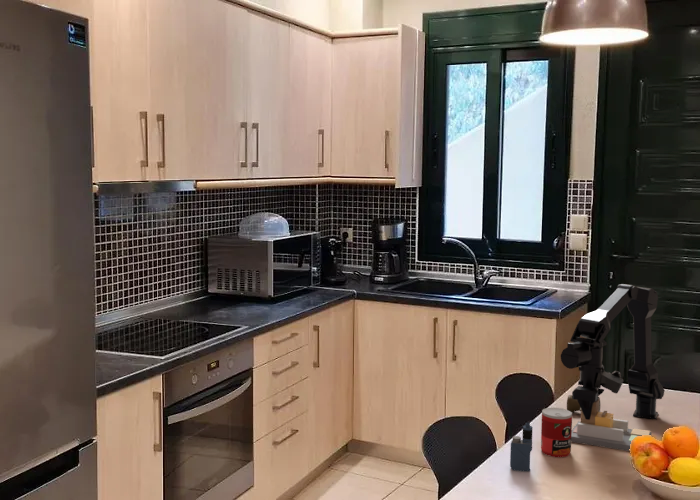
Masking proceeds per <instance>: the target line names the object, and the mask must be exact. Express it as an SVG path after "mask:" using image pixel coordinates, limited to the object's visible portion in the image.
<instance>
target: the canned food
mask: <svg viewBox="0 0 700 500" xmlns="http://www.w3.org/2000/svg"><path fill="white" fill-rule="evenodd" d="M540 429H541V432H540V434H541V435H540V449H541V452H542V454H544V455H546V456H547V457H548V456H549V457H552V458H567V457H569V456H570V455H571V452H572V442H571V434H572V430H573V412H572V413H571V412H570V411H568V410H567V408H561V407H546V408H543V409H542V410H541V428H540Z"/></svg>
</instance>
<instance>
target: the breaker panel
mask: <svg viewBox="0 0 700 500" xmlns="http://www.w3.org/2000/svg"><path fill="white" fill-rule="evenodd" d="M642 435H651V436H652V432H651V430H647V429H646V430H645V429H639V428H629V420H624V419H618V418H613V428H610V427H603V426H597V425H590V424H583V423H581V420H578V421H577V423H576V424H575V425H574V426H573V427H572V434H571V443H577V444H582V445H589V446H595V447H601V448H606V449H607V448H609V449H614V450H620V451H626V452H627V451H628V452H630V451H629V449H630V444H631V441H632V440H633V439H634V438H635V437H637V436H642Z"/></svg>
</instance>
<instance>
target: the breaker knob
mask: <svg viewBox="0 0 700 500" xmlns="http://www.w3.org/2000/svg"><path fill="white" fill-rule="evenodd" d="M613 419H614V413H611V412H608V410H603V411H600V412H598V413H597V415H596V416H595V425H597V426H603V427H610V428H613Z"/></svg>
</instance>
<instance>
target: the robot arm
mask: <svg viewBox="0 0 700 500" xmlns="http://www.w3.org/2000/svg"><path fill="white" fill-rule="evenodd" d="M658 302H659V296H658V292H657V291H656V290H655V289H653V288H649V287H641V286H636V285H633V284H626V283H625V284H624V283H621V284H618V285H617V286H616V289H615V290H614V292H613V293H612V294H610V296H609V297H608V298H607V299H606V300H604V302H603V304H601V305H600V306H599V307H598V308H597V309H596V310H594V311H591V312H588V313H586V314H584V316H582V317H581V318H580V319H579V321H578V322H577V324H576V327H575V329H574V331H573V333H572V336H571V338H570V342H567V347H565V348H564V349H562V351H561V354H560V361H561V363H562V365H563V366H564V367H565V368H566V369H570V370H571V369H576V368H578V371H579V380H578V381H577V383H578V384H577V385H578V386H576V387H575V388H574V389H573V391H572V392H571V395H572V399H576V400H577V401H578V403H579V405H580V407H581V409H582V412H583V414H584V417H585V419H587V420H589V419H590V416H591V412H592V407H593V403H594V402H596V401H597V400H598V399H599V398H600V395H602V394H603V393H604V391H605V389H607V390H609V391H611V393H613V394H618V393H619V391H620V389H621V387H622V385H623V383H624V379H623V378H622V376H621V375H622V373H621V372H620V371H617V370H614V371H613V372H612V373H611V372H609V371H605V366H604V365H603V350H604V349H603V348H604V346H606V345H608V344H607V343H608V342H606V341H605V340H604V339H605V338H606V337H607V335H608V333H610V330H611V323H612V322H613V321H614V319H615V318H616V317H617V316H618V315H619V314H620V313H621V312H622V311H623V310H624V308H625V307H626V306H627V309H628V311H629V312H630V314H631V315H632V317H633V318H632V319H633V356H634V357H633V358H634V359H633V360H634V361H633V365H632V366H631V368H630V369H628V370H627V372H626V373H627V382H626V383H628V391H629V394H631V395H636V396H635V397H636V398H635V400H636V401H635V410H634V412H633V414H632V416H633V417H638V418H644V419H651V420H657V417H658V415H659V411H657V400H662V399H663V398H664V395H665V389H664V387H663V385H662V384H661V382H660V380H659V372H658V370H657V369H656V368H655V365H654V363H653V360H652V359H653V357H652V355H653V353H652V347H653V346H652V316H653V315H654V313H655V311H656V310H657V309H658ZM602 387H603V388H604V389H603V388H602Z"/></svg>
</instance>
